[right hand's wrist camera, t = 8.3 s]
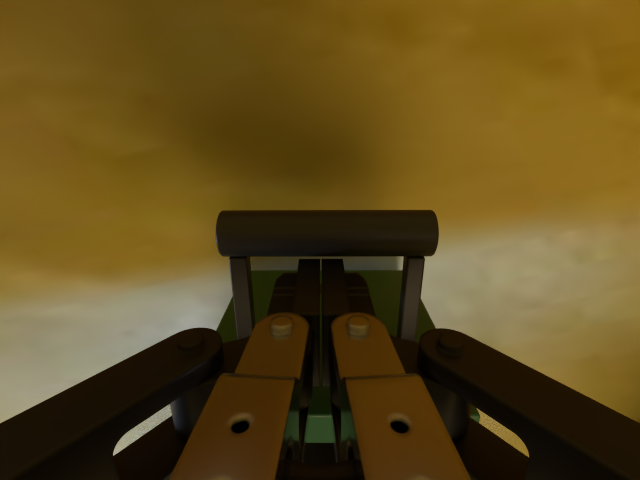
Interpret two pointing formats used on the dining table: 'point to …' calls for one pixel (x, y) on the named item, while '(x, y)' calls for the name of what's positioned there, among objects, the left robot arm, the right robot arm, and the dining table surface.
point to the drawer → (321, 240)
